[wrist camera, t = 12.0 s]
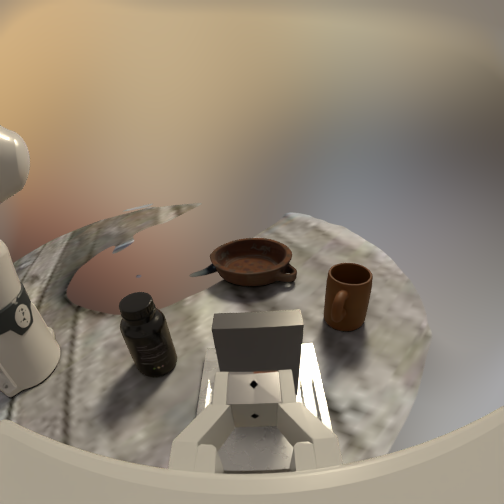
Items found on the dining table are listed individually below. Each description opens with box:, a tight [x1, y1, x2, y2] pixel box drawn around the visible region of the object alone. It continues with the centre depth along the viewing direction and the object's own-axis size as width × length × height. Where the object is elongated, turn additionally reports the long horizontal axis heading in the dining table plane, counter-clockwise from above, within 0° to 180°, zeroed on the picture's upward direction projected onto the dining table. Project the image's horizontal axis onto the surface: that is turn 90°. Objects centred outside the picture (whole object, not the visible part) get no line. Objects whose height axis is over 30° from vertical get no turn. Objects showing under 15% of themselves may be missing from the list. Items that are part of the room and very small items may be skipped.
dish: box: [210, 238, 297, 286], centre depth 64 cm, size 18×22×5 cm
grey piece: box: [196, 343, 332, 474], centre depth 31 cm, size 16×20×8 cm
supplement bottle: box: [119, 292, 177, 377], centre depth 38 cm, size 7×7×12 cm
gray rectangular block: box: [212, 310, 304, 395], centre depth 33 cm, size 9×6×12 cm
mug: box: [324, 263, 373, 331], centre depth 44 cm, size 12×8×9 cm, turn 150°
